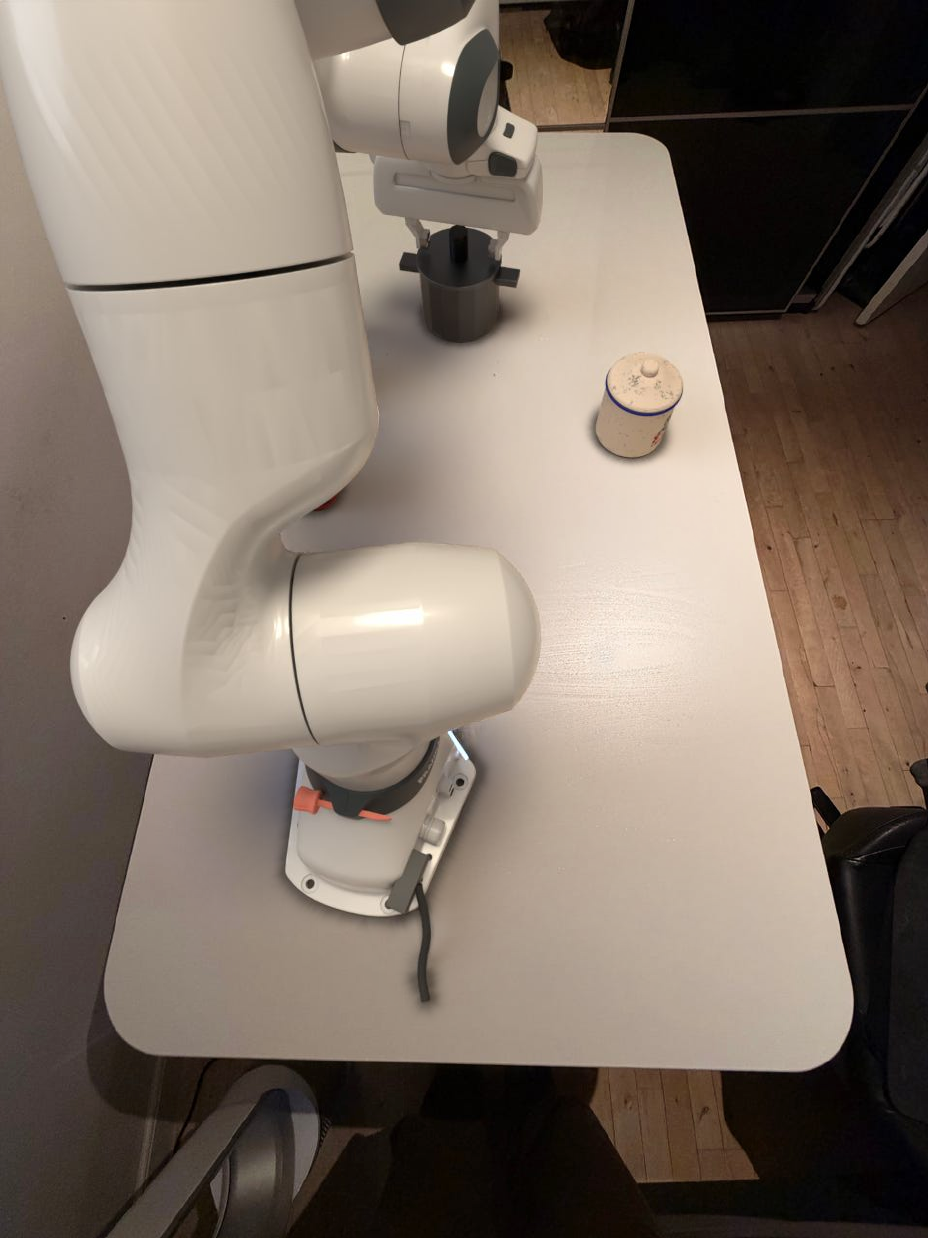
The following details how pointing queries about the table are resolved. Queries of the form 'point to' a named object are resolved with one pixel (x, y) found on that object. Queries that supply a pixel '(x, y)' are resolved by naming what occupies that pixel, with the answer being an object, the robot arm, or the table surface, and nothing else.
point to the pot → (461, 304)
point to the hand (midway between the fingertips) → (459, 251)
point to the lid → (458, 259)
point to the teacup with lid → (638, 404)
